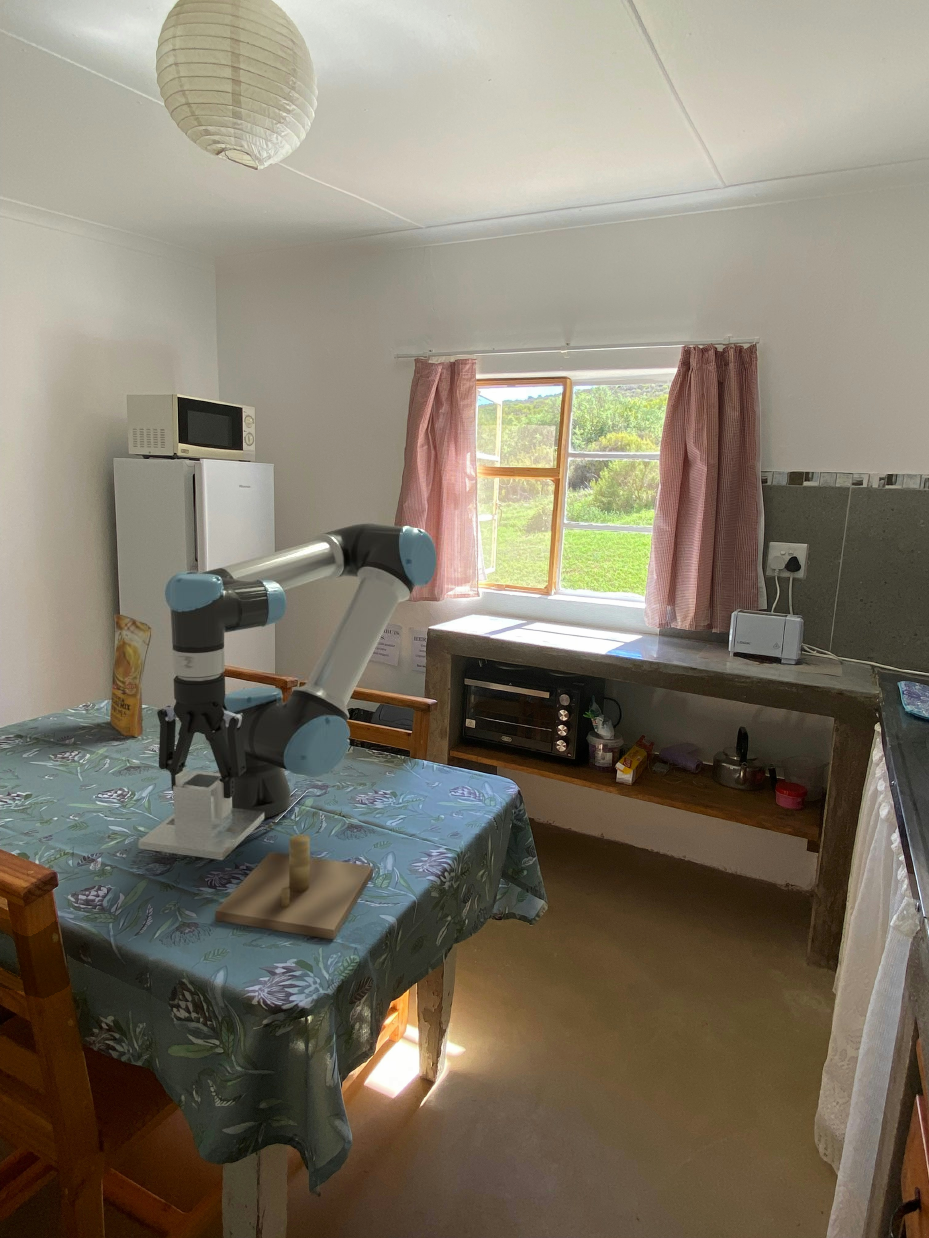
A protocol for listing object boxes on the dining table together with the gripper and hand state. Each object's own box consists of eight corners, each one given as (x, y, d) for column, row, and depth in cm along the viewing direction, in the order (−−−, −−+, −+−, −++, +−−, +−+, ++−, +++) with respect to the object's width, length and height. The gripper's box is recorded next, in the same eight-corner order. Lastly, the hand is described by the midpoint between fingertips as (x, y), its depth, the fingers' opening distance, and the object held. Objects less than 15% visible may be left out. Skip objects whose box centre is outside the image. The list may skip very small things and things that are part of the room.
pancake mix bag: (130, 715, 191) (127, 611, 186) (157, 736, 178) (154, 624, 173) (103, 720, 187) (99, 613, 182) (128, 741, 173) (124, 626, 168)
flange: (138, 848, 112) (135, 793, 110) (188, 808, 125) (186, 759, 123) (222, 859, 109) (221, 804, 107) (264, 818, 123) (263, 768, 121)
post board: (215, 920, 105) (214, 859, 103) (270, 859, 122) (270, 806, 120) (333, 939, 102) (334, 877, 100) (372, 874, 119) (374, 820, 117)
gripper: (127, 675, 110) (135, 815, 115) (246, 686, 107) (248, 830, 111) (157, 663, 117) (162, 796, 122) (268, 673, 114) (270, 809, 118)
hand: (203, 812), depth 116 cm, fingers closed on flange, 6 cm apart
